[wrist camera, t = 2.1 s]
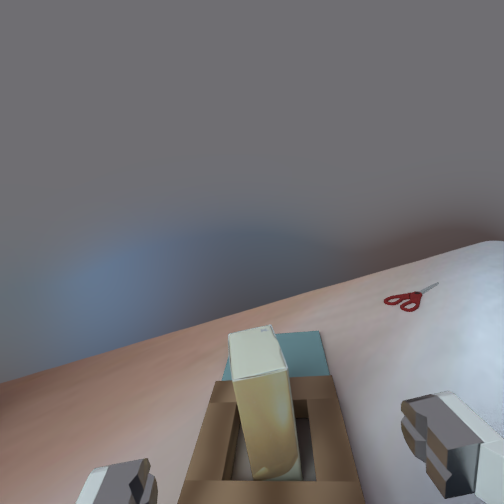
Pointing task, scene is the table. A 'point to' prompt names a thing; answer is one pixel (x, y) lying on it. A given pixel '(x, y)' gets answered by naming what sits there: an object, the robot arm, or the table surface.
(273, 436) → the skincare box
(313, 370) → the teal mat
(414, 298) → the scissors
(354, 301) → the table surface
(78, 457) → the table surface
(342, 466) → the pocket holder
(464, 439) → the robot arm
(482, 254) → the table surface
